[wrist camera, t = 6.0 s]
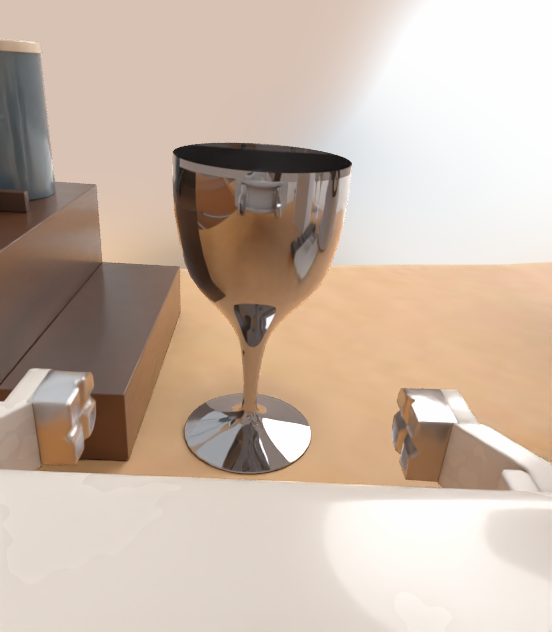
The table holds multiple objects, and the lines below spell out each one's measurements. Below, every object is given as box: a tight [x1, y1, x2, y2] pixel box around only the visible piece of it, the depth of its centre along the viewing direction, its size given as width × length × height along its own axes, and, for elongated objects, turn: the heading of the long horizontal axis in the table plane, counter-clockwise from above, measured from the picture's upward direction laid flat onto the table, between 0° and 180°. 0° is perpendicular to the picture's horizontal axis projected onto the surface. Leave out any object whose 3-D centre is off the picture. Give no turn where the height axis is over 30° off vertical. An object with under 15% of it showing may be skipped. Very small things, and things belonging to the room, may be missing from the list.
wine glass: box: [172, 143, 352, 474], centre depth 27 cm, size 8×8×15 cm
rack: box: [0, 182, 180, 460], centre depth 32 cm, size 15×18×12 cm
